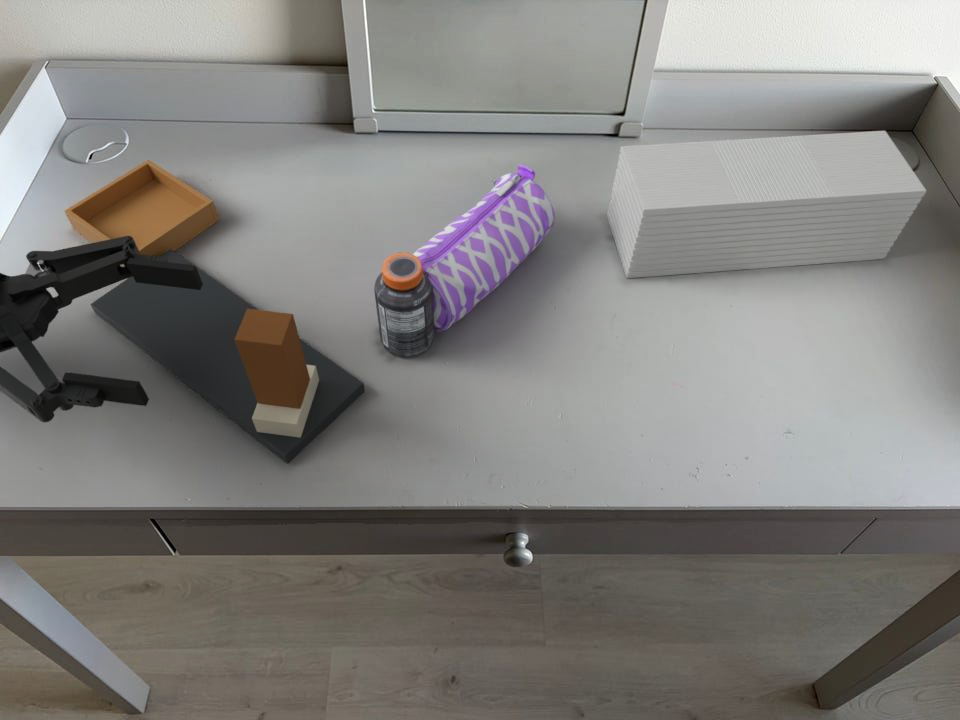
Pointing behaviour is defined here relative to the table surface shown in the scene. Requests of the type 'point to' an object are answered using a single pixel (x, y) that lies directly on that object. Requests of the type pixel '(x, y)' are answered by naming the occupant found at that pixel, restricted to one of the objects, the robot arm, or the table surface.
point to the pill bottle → (404, 306)
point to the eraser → (276, 371)
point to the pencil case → (485, 245)
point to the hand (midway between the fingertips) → (172, 332)
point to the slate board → (217, 351)
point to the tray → (144, 211)
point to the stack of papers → (759, 202)
